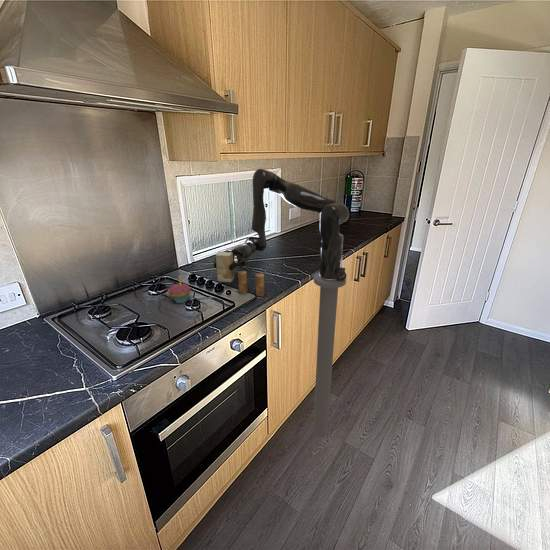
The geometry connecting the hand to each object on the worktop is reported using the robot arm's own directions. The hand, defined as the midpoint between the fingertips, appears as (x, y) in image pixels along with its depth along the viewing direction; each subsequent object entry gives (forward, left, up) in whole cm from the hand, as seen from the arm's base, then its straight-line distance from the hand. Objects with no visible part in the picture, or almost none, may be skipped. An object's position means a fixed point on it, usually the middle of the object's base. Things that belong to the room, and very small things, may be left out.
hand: (222, 266), depth 122 cm
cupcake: (+12, +14, -11) cm, 21 cm away
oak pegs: (-12, -2, -11) cm, 16 cm away
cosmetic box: (0, -2, -7) cm, 8 cm away
